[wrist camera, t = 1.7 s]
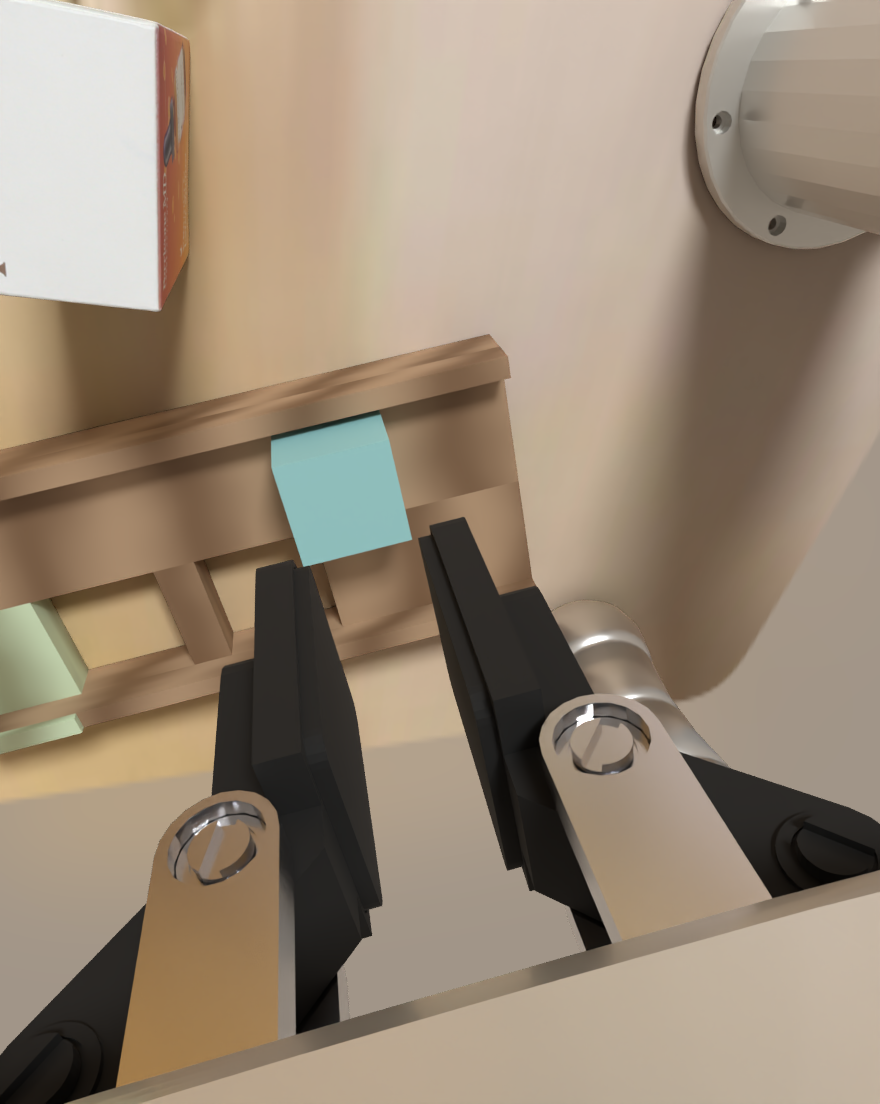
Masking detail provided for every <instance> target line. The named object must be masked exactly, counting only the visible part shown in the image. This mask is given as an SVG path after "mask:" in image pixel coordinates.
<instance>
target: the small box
mask: <svg viewBox="0 0 880 1104" xmlns="http://www.w3.org/2000/svg"><path fill="white" fill-rule="evenodd" d="M189 76H190V44H189V40H188V39H187V38H186V37H184V36H183V35H181V34H179V33H177V32H175V31H173V30H172V29H169V28H167V27H165V26H163V25H161V24H159V23H157V22H154V21H150V20H145V19H141V18H136V17H132V16H127V15H123V14H119V13H114V12H110V11H105V10H100V9H95V8H90V7H86V6H81V5H76V4H71V3H66V2H61V1H56V0H0V295H6V296H16V297H25V298H35V299H44V300H54V301H63V302H72V303H81V304H90V305H100V306H109V307H118V308H127V309H136V310H146V311H154V312H158V311H161V310H162V307H163V305H164V303H165V301H166V299H167V297H168V295H169V293H170V291H171V289H172V287H173V285H174V283H175V281H176V279H177V277H178V275H179V273H180V271H181V269H182V267H183V265H184V263H185V261H186V258H187V256H188V254H189V224H188V152H189Z"/></svg>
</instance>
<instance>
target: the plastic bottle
mask: <svg viewBox="0 0 880 1104" xmlns="http://www.w3.org/2000/svg"><path fill="white" fill-rule="evenodd" d="M552 614H553V616H554V618H555V620H556V622H557V624H558V626H559V628H560V629H561V631H562V633H563V635H564V637H565V639H566V641H567V643H568V645H569V647H570V649H571V650H572V652H573V654H574V656H575V658H576V660H577V662H578V664H579V666H580V668H581V669H582V671H583V673H584V675H585V677H586V679H587V681H588V683H589V685H590V687H591V689H592V690H593V692H594V694H615V695H619V696H623V697H626V698H630V699H633V700H635V701H637V702H638V703H640V704H642V705H644V706H645V707H647V708H649V710H650V711H651V712H652V713H653V714H654V715H655V716H656V717H657V718H658V719H659V721H660V722H661V724H662V725H663V727H664V728H665V730H666V732H667V733H668V735H669V736H670V738H671V739H672V741H673V743H674V744H675V746H676V747H677V749H678V750H679V752H682V753H685V754H688V755H691V756H694V757H697V758H700V759H703V760H706V761H709V762H712V763H715V764H718V765H721V766H724V767H727V768H729V767H728V765H727V764H726V763H725V762H724V761H723V760H722V759H721V758H720V757H719V755H718V754H717V753H716V752H715V751H714V750H713V749H712V748H711V747H710V746H709V745H708V744H707V743H706V742H705V740H704V739H703V738H702V737H701V736H700V735H699V734H698V733H697V732H696V731H695V729H694V728H693V727H692V725H691V724H690V723H689V721H688V720H687V719H686V717H685V716H684V715H683V714H682V712H681V711H680V710H679V708H678V707H677V705H676V704H675V703H674V702H673V700H672V699H671V697H670V696H669V694H668V692H667V690H666V688H665V686H664V684H663V682H662V680H661V678H660V676H659V674H658V672H657V670H656V669H655V667H654V665H653V663H652V659H651V656H650V652H649V650H648V647H647V645H646V642H645V640H644V638H643V636H642V633H641V631H640V629H639V628H638V626H637V625H636V624H635V622H633V621H632V620H631V619H630V618H629V617H628V616H627V615H626V614H625V613H624V612H622V611H621V610H620V609H619V608H617V607H616V606H614V605H612V604H609V603H606V602H601V601H594V600H580V601H574V602H570V603H567V604H565V605H562V606H560V607H558V608H556V609H555V610H553V611H552ZM730 769H731V768H730Z"/></svg>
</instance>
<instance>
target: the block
mask: <svg viewBox="0 0 880 1104" xmlns="http://www.w3.org/2000/svg"><path fill="white" fill-rule="evenodd" d="M271 468H272V472H273V475H274V478H275V481H276V484H277V487H278V490H279V493H280V496H281V499H282V502H283V505H284V508H285V511H286V514H287V518H288V521H289V524H290V527H291V530H292V533H293V536H294V539H295V542H296V545H297V548H298V551H299V554H300V557H301V560H302V564H303V567H305V566H310V565H314V564H318V563H322V562H326V561H330V560H334V559H338V558H342V557H346V556H350V555H354V554H358V553H362V552H366V551H370V550H374V549H377V548H381V547H385V546H389V545H393V544H397V543H401V542H405V541H409V540H412V537H411V532H410V528H409V524H408V519H407V515H406V511H405V507H404V502H403V498H402V494H401V489H400V485H399V481H398V476H397V472H396V468H395V463H394V459H393V455H392V451H391V446H390V442H389V438H388V435H387V432H386V429H385V426H384V423H383V420H382V417H381V414H380V411H379V410H375V411H371V412H367V413H363V414H359V415H355V416H351V417H346V418H342V419H338V420H334V421H330V422H326V423H322V424H317V425H313V426H309V427H305V428H301V429H297V430H292V431H288V432H284V433H280V434H276V435H272V436H271Z"/></svg>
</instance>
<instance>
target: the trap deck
mask: <svg viewBox="0 0 880 1104" xmlns="http://www.w3.org/2000/svg"><path fill="white" fill-rule="evenodd" d="M508 378H511V376H510V369H509V361H508V356H507V355H506V354H505V352H504V351H503V350H502V349H501V348H500V346H499V345H498V344H497V343H496V342H495V341H494V339H493V338H492V337H491V336H490V335H489V334H488V335H484V336H480V337H475V338H471V339H467V340H463V341H458V342H454V343H450V344H446V345H442V346H437V347H433V348H429V349H425V350H420V351H416V352H412V353H408V354H404V355H399V356H395V357H391V358H387V359H382V360H378V361H374V362H370V363H366V364H361V365H357V366H353V367H349V368H345V369H340V370H336V371H332V372H328V373H323V374H319V375H315V376H311V377H307V378H302V379H298V380H294V381H290V382H285V383H281V384H277V385H273V386H269V387H264V388H260V389H256V390H252V391H247V392H243V393H239V394H235V395H231V396H226V397H222V398H218V399H214V400H210V401H205V402H201V403H197V404H193V405H188V406H184V407H180V408H176V409H172V410H167V411H163V412H159V413H155V414H150V415H146V416H142V417H138V418H134V419H129V420H125V421H121V422H117V423H112V424H108V425H104V426H100V427H96V428H91V429H87V430H83V431H79V432H75V433H70V434H66V435H62V436H58V437H53V438H49V439H45V440H41V441H37V442H32V443H28V444H24V445H20V446H15V447H11V448H7V449H3V450H0V754H3V753H7V752H10V751H14V750H18V749H22V748H26V747H30V746H33V745H37V744H41V743H45V742H49V741H53V740H57V739H60V738H64V737H68V736H72V735H76V734H80V733H82V732H83V729H84V727H87V726H91V725H95V724H99V723H102V722H106V721H110V720H114V719H118V718H122V717H126V716H129V715H133V714H137V713H141V712H145V711H149V710H152V709H156V708H160V707H164V706H168V705H172V704H176V703H179V702H183V701H187V700H191V699H195V698H199V697H202V696H206V695H210V694H214V693H218V692H219V691H220V678H221V672H222V668H223V667H224V666H226V665H229V664H233V663H237V662H241V661H245V660H249V659H253V658H254V631H255V627H254V628H250V629H246V630H242V631H238V632H234V633H233V630H232V628H231V625H230V623H229V621H228V618H227V616H226V613H225V611H224V608H223V606H222V603H221V601H220V598H219V596H218V593H217V591H216V588H215V586H214V583H213V581H212V579H211V576H210V574H209V571H208V569H207V566H206V564H205V561H204V559H208V558H212V557H216V556H220V555H224V554H228V553H232V552H236V551H240V550H244V549H248V548H252V547H256V546H260V545H264V544H268V543H272V542H276V541H280V540H284V539H288V538H292V537H294V536H293V533H292V530H291V527H290V524H289V521H288V518H287V514H286V511H285V508H284V505H283V502H282V499H281V496H280V493H279V490H278V487H277V484H276V481H275V478H274V475H273V472H272V468H271V436H272V435H276V434H280V433H284V432H288V431H292V430H297V429H301V428H305V427H309V426H313V425H317V424H322V423H326V422H330V421H334V420H338V419H342V418H346V417H351V416H355V415H359V414H363V413H367V412H371V411H375V410H379V411H380V414H381V417H382V420H383V423H384V426H385V429H386V432H387V435H388V438H389V442H390V446H391V451H392V455H393V459H394V463H395V468H396V472H397V476H398V481H399V485H400V489H401V494H402V498H403V502H404V507H405V511H406V515H407V519H408V524H409V528H410V532H411V537H412V540H409V541H405V542H401V543H397V544H393V545H389V546H385V547H381V548H377V549H374V550H370V551H366V552H362V553H358V554H354V555H350V556H346V557H342V558H338V559H334V560H330V561H326V562H323V564H324V567H325V570H326V574H327V577H328V580H329V583H330V587H331V590H332V593H333V596H334V600H335V603H336V607H332V608H328V609H324V611H325V614H326V618H327V621H328V624H329V627H330V630H331V633H332V636H333V639H334V642H335V646H336V649H337V652H338V655H339V658H340V661H341V660H345V659H349V658H352V657H356V656H360V655H364V654H368V653H372V652H375V651H379V650H383V649H387V648H391V647H395V646H399V645H402V644H406V643H410V642H414V641H418V640H422V639H425V638H429V637H433V636H437V635H440V634H439V629H438V625H437V621H436V616H435V612H434V607H433V603H432V599H431V594H430V590H429V585H428V581H427V577H426V572H425V568H424V563H423V559H422V555H421V550H420V546H419V541H418V538H420V537H424V536H428V535H431V534H430V528H429V525H433V524H437V523H441V522H445V521H449V520H453V519H457V518H461V517H465V519H466V521H467V523H468V525H469V528H470V530H471V532H472V534H473V537H474V539H475V541H476V543H477V546H478V548H479V550H480V552H481V555H482V557H483V559H484V562H485V564H486V566H487V568H488V571H489V573H490V575H491V577H492V580H493V582H494V584H495V586H496V589H497V591H498V593H499V595H501V594H505V593H508V592H512V591H516V590H520V589H524V588H528V587H532V586H536V585H535V583H534V581H533V579H532V574H531V567H530V560H529V553H528V546H527V539H526V532H525V524H524V517H523V510H522V503H521V496H520V489H519V482H518V475H517V468H516V460H515V453H514V446H513V439H512V432H511V425H510V418H509V411H508V404H507V396H506V389H505V382H504V379H508ZM152 572H153V573H154V575H155V578H156V580H157V582H158V584H159V586H160V589H161V591H162V593H163V595H164V598H165V600H166V602H167V604H168V606H169V609H170V611H171V613H172V615H173V617H174V620H175V622H176V624H177V626H178V629H179V631H180V633H181V635H182V637H183V640H184V642H185V644H186V645H183V646H180V647H176V648H172V649H168V650H164V651H160V652H156V653H152V654H148V655H144V656H140V657H137V658H133V659H129V660H125V661H121V662H117V663H113V664H109V665H105V666H101V667H97V668H93V669H90V670H88V668H87V666H86V664H85V662H84V660H83V659H82V657H81V655H80V653H79V651H78V649H77V648H76V646H75V644H74V642H73V640H72V638H71V637H70V635H69V633H68V631H67V629H66V628H65V626H64V624H63V622H62V620H61V618H60V617H59V615H58V613H57V611H56V609H55V607H54V606H53V604H52V602H51V600H50V598H51V597H55V596H59V595H63V594H67V593H71V592H75V591H80V590H84V589H88V588H92V587H96V586H100V585H104V584H108V583H112V582H116V581H120V580H124V579H128V578H132V577H136V576H140V575H144V574H148V573H152ZM536 587H537V586H536Z"/></svg>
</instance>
